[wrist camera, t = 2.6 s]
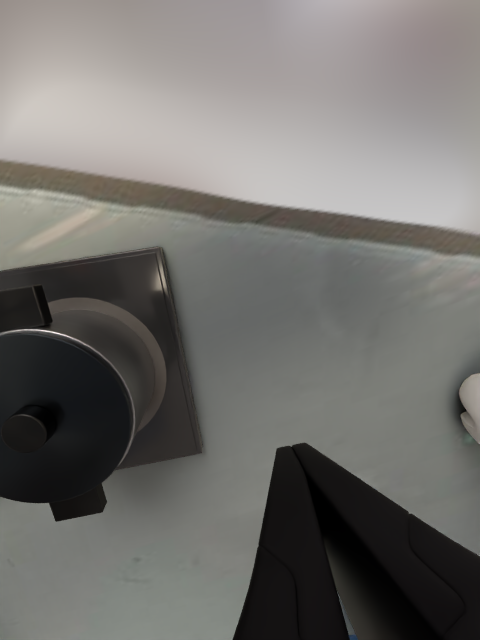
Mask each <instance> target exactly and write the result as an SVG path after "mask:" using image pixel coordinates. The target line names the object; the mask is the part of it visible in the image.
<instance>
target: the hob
mask: <svg viewBox="0 0 480 640" xmlns="http://www.w3.org/2000/svg"><path fill="white" fill-rule="evenodd" d="M39 284H41V285H42V286H43V290H44V293H45V296H46V300H47V303H48V306H49V310H50V313H51V315H52V314H55V313H58V312H62V311H67V310H90V311H96V312H100V313H104V314H106V315H109V316H111V317H114V318H116V319H117V320H119V321H121V322H123V323H124V324H125V325H127V326H128V327H130V328H131V329H132V330H133V331H134V332H135V333H136V334H137V335H138V336H139V337H140V339H141V340H142V341H143V343H144V344H145V346H146V347H147V349H148V351H149V353H150V355H151V358H152V361H153V365H154V371H155V385H154V391H153V394H152V398H151V400H150V402H149V405H148V407H147V409H146V411H145V414H144V416H143V418H142V421H141V423H140V425H139V427H138V430H137V432H136V434H135V437H134V439H133V441H132V444H131V446H130V448H129V450H128V453H127V454H126V456H125V458H124V459H123V461H122V462H121V463H120V465H119V466H118V467H117V468H116V469H115V470H118V469H124V468H129V467H134V466H139V465H144V464H149V463H154V462H159V461H164V460H170V459H175V458H180V457H185V456H190V455H195V454H200V453H202V447H203V444H202V439H201V434H200V429H199V424H198V419H197V414H196V410H195V405H194V400H193V395H192V390H191V385H190V380H189V376H188V371H187V366H186V361H185V356H184V351H183V346H182V341H181V337H180V332H179V327H178V322H177V317H176V312H175V307H174V302H173V298H172V293H171V288H170V283H169V278H168V273H167V268H166V264H165V259H164V254H163V249H162V247H152V248H146V249H139V250H133V251H126V252H120V253H113V254H107V255H100V256H94V257H87V258H81V259H74V260H68V261H61V262H55V263H48V264H42V265H35V266H29V267H22V268H16V269H10V270H3V271H0V290H7V289H13V288H19V287H26V286H32V285H39Z"/></svg>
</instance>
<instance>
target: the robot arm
mask: <svg viewBox="0 0 480 640" xmlns="http://www.w3.org/2000/svg"><path fill="white" fill-rule="evenodd" d="M336 589H337V590H336ZM337 591H338V593H337ZM338 594H339V596H340V598H341V601H342V603H343V605H344V608H345V610H346V612H347V615H348V617H349V620H350V622H351V624H352V627H353V629H354V631H355V634H356V636H357V638H358V640H480V556H478V555H477V554H475V553H473V552H471V551H470V550H468V549H466V548H465V547H463V546H461V545H460V544H458V543H456V542H454V541H453V540H451V539H450V538H448V537H446V536H445V535H443V534H442V533H440V532H439V531H437V530H436V529H434V528H432V527H431V526H429V525H428V524H426V523H425V522H423V521H422V520H420V519H419V518H417V517H416V516H414V515H413V514H409V513H408V511H407V510H405V509H404V508H402V507H401V506H399V505H398V504H396V503H395V502H393V501H392V500H390V499H389V498H387V497H386V496H384V495H383V494H381V493H380V492H378V491H377V490H375V489H374V488H372V487H371V486H369V485H368V484H366V483H365V482H363V481H362V480H360V479H359V478H357V477H356V476H354V475H353V474H351V473H350V472H349V471H347V470H346V469H344V468H343V467H341V466H340V465H338V464H337V463H335V462H334V461H332V460H331V459H329V458H328V457H326V456H325V455H323V454H322V453H320V452H319V451H317V450H316V449H314V448H313V447H311V446H310V445H308V444H307V443H300V444H295V445H293V446H292V447H291V446H285V447H280V448H277V451H276V456H275V461H274V466H273V471H272V476H271V482H270V487H269V492H268V497H267V502H266V508H265V513H264V518H263V523H262V528H261V534H260V539H259V546H258V548H257V553H256V559H255V564H254V568H253V572H252V577H251V581H250V585H249V589H248V592H247V596H246V599H245V602H244V606H243V609H242V613H241V616H240V619H239V622H238V625H237V628H236V631H235V634H234V637H233V640H350V638H349V634H348V631H347V627H346V623H345V619H344V616H343V612H342V608H341V605H340V601H339V597H338Z"/></svg>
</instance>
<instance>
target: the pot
mask: <svg viewBox="0 0 480 640" xmlns="http://www.w3.org/2000/svg"><path fill="white" fill-rule="evenodd" d="M154 385H155V371H154V365H153V361H152V358H151V355H150V353H149V351H148V349H147V347H146V346H145V344H144V343H143V341H142V340H141V339H140V337H139V336H138V335H137V334H136V333H135V332H134V331H133V330H132V329H131V328H130V327H128V326H127V325H125V324H124V323H123V322H121V321H119V320H117V319H116V318H114V317H111V316H109V315H106V314H104V313H100V312H96V311H90V310H67V311H62V312H58V313H55V314H52V315H51V313H50V310H49V306H48V303H47V300H46V296H45V293H44V290H43V286H42V285H41V284H39V285H32V286H26V287H19V288H13V289H7V290H0V497H3V498H7V499H10V500H15V501H20V502H27V503H49V504H50V507H51V510H52V513H53V515H54V518H55V521H56V522H57V521H62V520H67V519H72V518H77V517H82V516H87V515H91V514H96V513H101V512H103V510H104V508H105V505H106V503H107V500H106V497H105V494H104V490H103V487H102V484H101V483H102V482H103V481H104V480H105V479H107V478H108V477H109V476H110V475H111V474H112V473H113V471H114V470H115V469H116V468H117V467H118V466H119V465H120V463H121V462H122V461H123V459H124V458H125V456H126V454H127V453H128V450H129V448H130V446H131V444H132V441H133V439H134V437H135V434H136V432H137V430H138V427H139V425H140V423H141V421H142V418H143V416H144V414H145V411H146V409H147V407H148V405H149V402H150V400H151V398H152V394H153V391H154Z"/></svg>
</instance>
